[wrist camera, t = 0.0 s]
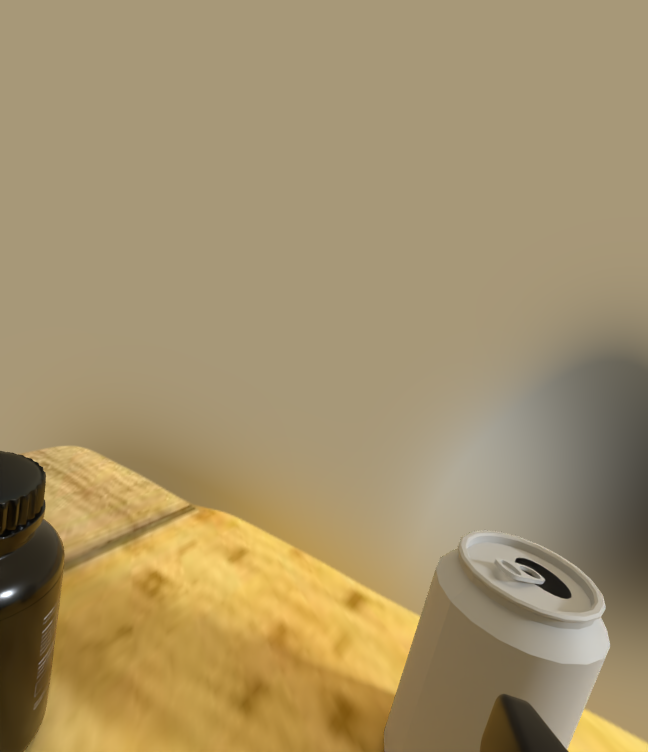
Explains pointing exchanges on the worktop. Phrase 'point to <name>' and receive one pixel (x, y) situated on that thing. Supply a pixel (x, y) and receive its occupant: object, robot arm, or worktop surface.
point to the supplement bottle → (26, 600)
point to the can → (498, 644)
